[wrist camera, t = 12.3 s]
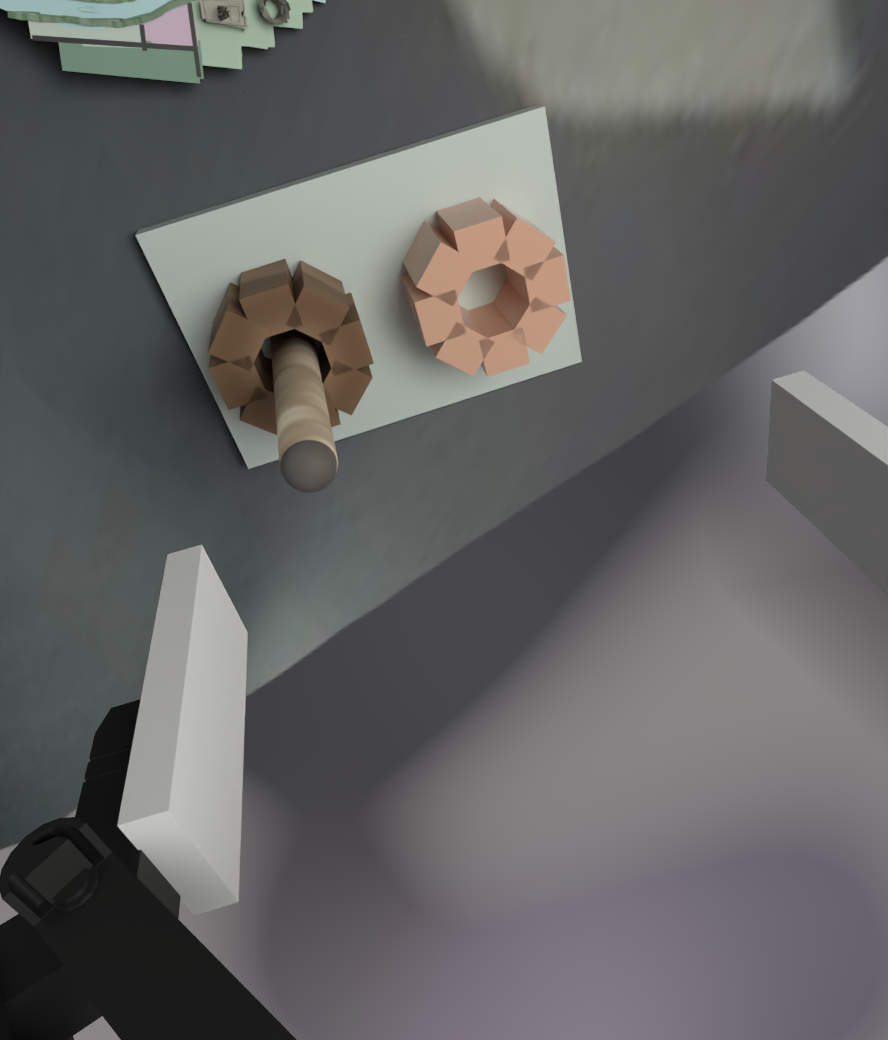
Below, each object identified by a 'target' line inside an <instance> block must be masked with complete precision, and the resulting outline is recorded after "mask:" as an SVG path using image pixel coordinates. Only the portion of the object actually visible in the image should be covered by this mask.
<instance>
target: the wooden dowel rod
mask: <svg viewBox="0 0 888 1040" xmlns="http://www.w3.org/2000/svg"><path fill="white" fill-rule="evenodd" d="M270 340H271V354H272V368H273V382H274V397H275V411H276V425H277V439H278V453H279V467H280V471H281V474H282V476H283V477H284V479H285V480H286V481H287V483H288V484H289V485H290V486H292V487H293V488H295V489H297V490H299V491H302V492H316V491H319V490H322V489H324V488H325V487H327V486H328V485H329V484H330V483H331V482H332V480H333V478H334V476H335V474H336V472H337V469H338V458H337V453H336V448H335V443H334V438H333V433H332V428H331V423H330V418H329V413H328V408H327V403H326V398H325V393H324V388H323V383H322V378H321V373H320V368H319V363H318V358H317V353H316V348H315V343H314V338H313V337H311V336H309V335H306V334H304V333H302V332H300V331H298V330H296V329H292V330H289V331H286V332H283V333H280V334H276V335H273V336H270Z"/></svg>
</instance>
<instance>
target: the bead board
mask: <svg viewBox="0 0 888 1040" xmlns="http://www.w3.org/2000/svg"><path fill="white" fill-rule="evenodd" d="M478 197H480V198H481V199H483V200H484V201H485V202H486V203H487V204H488V205H489V206H490V205H491V203H492V201H493V199H495V200H497V201H498V202H500V203H501V204H503V205H505V206H506V207H508V208H509V209H511V210H513V211H514V212H516V213H517V214H519V215H520V216H522V217H524V218H525V219H527V220H528V221H530V222H531V223H532V224H534V225H535V226H536V227H537V228H539V229H540V230H541V231H542V232H544V233H545V234H546V235H548V236H549V237H550V238H551V239H553V240H554V241H555V242H556V243H555V245H554V247H555V248H556V249H557V250H559V251H560V252H561V253H562V254H563V255H564V259H565V265H566V272H567V279H568V286H569V293H570V299H571V301H567V302H564V303H561V304H558V306H559V307H560V308H561V309H562V310H563V311H564V312H565V313H566V314H567V316H566V318H565V319H564V321H563V322H562V324H561V325H560V327H559V329H558V330H557V332H556V333H555V335H554V336H553V338H552V339H551V341H550V342H549V344H548V345H547V347H546V348H545V350H544V352H543V353H542V354H540V353H538V352H536V351H534V350H532V349H531V348H529V347H527V351H528V356H529V362H530V364H527V365H524V366H520V367H517V368H514V369H511V370H508V371H505V372H502V373H499V374H496V375H493V376H489V377H487V376H486V374H485V372H484V371H483V369H482V367H481V366H480V367H479V368H478V370H477V372H476V373H475V375H474V376H472V375H470V374H468V373H466V372H464V371H462V370H460V369H458V368H456V367H454V366H452V365H450V364H448V363H446V362H444V361H442V360H440V359H438V358H436V357H435V355H434V353H433V351H432V349H431V347H430V346H426V344H425V342H424V340H423V338H422V336H421V334H420V332H419V330H418V328H417V326H416V324H415V322H414V319H413V317H412V314H411V310H410V307H409V303H408V300H407V296H406V293H405V289H404V286H403V282H402V278H401V276H404V275H407V274H409V273H408V271H407V269H406V267H405V266H404V264H403V260H404V258H405V256H406V255H407V253H408V251H409V249H410V247H411V245H412V243H413V241H414V239H415V238H416V236H417V234H418V232H419V230H420V228H421V226H422V224H423V223H424V221H426V222H428V223H429V224H431V225H433V226H434V227H436V228H438V229H440V225H439V221H438V217H437V212H436V211H437V210H440V209H443V208H446V207H450V206H453V205H456V204H459V203H462V202H465V201H469V200H472V199H475V198H478ZM440 230H441V229H440ZM135 236H136V238H137V240H138V242H139V244H140V246H141V248H142V250H143V252H144V254H145V256H146V258H147V260H148V262H149V264H150V267H151V269H152V271H153V273H154V275H155V277H156V279H157V281H158V283H159V285H160V287H161V289H162V291H163V293H164V295H165V298H166V300H167V302H168V304H169V306H170V308H171V310H172V312H173V314H174V316H175V318H176V320H177V322H178V324H179V326H180V328H181V331H182V333H183V335H184V337H185V339H186V341H187V343H188V345H189V347H190V349H191V351H192V353H193V355H194V357H195V359H196V361H197V364H198V366H199V368H200V370H201V372H202V374H203V376H204V378H205V380H206V382H207V384H208V386H209V388H210V390H211V392H212V394H213V397H214V399H215V401H216V403H217V405H218V407H219V409H220V411H221V413H222V415H223V417H224V419H225V421H226V423H227V425H228V427H229V430H230V432H231V434H232V436H233V438H234V440H235V442H236V444H237V446H238V448H239V450H240V452H241V454H242V456H243V458H244V460H245V463H246V465H247V467H248V469H250V468H253V467H256V466H260V465H263V464H266V463H269V462H272V461H275V460H278V459H279V453H278V439H277V435H275V434H273V433H270V432H268V431H265V430H263V429H260V428H258V427H255V426H253V425H250V424H248V423H245V422H243V421H240V407H237V408H234V409H230V410H228V408H227V406H226V404H225V402H224V400H223V398H222V396H221V393H220V391H219V389H218V387H217V385H216V383H215V381H214V379H213V377H212V375H211V372H210V370H209V362H210V355H211V354H208V351H209V344H210V338H211V331H212V325H213V321H214V319H215V316H216V314H217V312H218V309H219V307H220V305H221V303H222V300H223V298H224V296H225V293H226V291H227V289H228V286H229V284H230V282H231V283H233V284H235V285H237V286H239V287H240V281H241V272H244V271H248V270H251V269H254V268H257V267H260V266H263V265H267V264H270V263H273V262H276V261H279V260H282V259H286V262H287V265H288V267H289V270H290V273H291V275H292V277H293V275H294V272H295V270H296V268H297V266H298V264H299V262H300V260H301V261H303V262H305V263H307V264H309V265H311V266H313V267H315V268H317V269H319V270H321V271H323V272H325V273H327V274H328V275H330V276H332V277H334V278H336V279H338V280H340V281H342V284H343V288H344V291H345V294H347V293H351V294H352V297H353V300H354V303H355V306H356V309H357V312H358V315H359V318H360V321H361V324H362V327H363V330H364V333H365V336H366V340H367V343H368V346H369V349H370V352H371V355H372V359H373V362H374V364H371V365H369V367H370V370H371V374H372V377H373V378H372V380H371V381H370V383H369V385H368V387H367V389H366V391H365V392H364V394H363V396H362V398H361V400H360V401H359V403H358V405H357V407H356V409H355V410H354V412H353V414H352V415H349V414H347V413H345V412H342V411H340V410H338V413H339V418H340V425H337V426H334V427H331V428H332V433H333V438H334V441H337V440H340V439H343V438H346V437H350V436H353V435H356V434H359V433H362V432H365V431H368V430H371V429H374V428H378V427H381V426H384V425H387V424H390V423H393V422H396V421H399V420H402V419H405V418H409V417H412V416H415V415H418V414H421V413H424V412H427V411H430V410H433V409H436V408H440V407H443V406H446V405H449V404H452V403H455V402H458V401H461V400H464V399H468V398H471V397H474V396H477V395H480V394H483V393H486V392H489V391H492V390H495V389H499V388H502V387H505V386H508V385H511V384H514V383H517V382H520V381H523V380H527V379H530V378H533V377H536V376H539V375H542V374H545V373H548V372H551V371H554V370H558V369H561V368H564V367H567V366H570V365H573V364H576V363H579V362H582V359H581V353H580V346H579V339H578V332H577V325H576V318H575V311H574V304H573V297H572V291H571V284H570V277H569V270H568V263H567V256H566V249H565V242H564V235H563V229H562V222H561V215H560V208H559V201H558V194H557V187H556V180H555V173H554V166H553V160H552V153H551V146H550V139H549V132H548V125H547V118H546V111H545V106H543V105H540V104H537V105H534V106H531V107H527V108H524V109H521V110H518V111H515V112H512V113H508V114H505V115H502V116H499V117H496V118H492V119H489V120H486V121H483V122H480V123H477V124H473V125H470V126H467V127H464V128H461V129H458V130H454V131H451V132H448V133H445V134H442V135H438V136H435V137H432V138H429V139H426V140H423V141H419V142H416V143H413V144H410V145H407V146H404V147H400V148H397V149H394V150H391V151H388V152H384V153H381V154H378V155H375V156H372V157H369V158H365V159H362V160H359V161H356V162H353V163H350V164H346V165H343V166H340V167H337V168H334V169H330V170H327V171H324V172H321V173H318V174H315V175H311V176H308V177H305V178H302V179H299V180H295V181H292V182H289V183H286V184H283V185H280V186H276V187H273V188H270V189H267V190H264V191H261V192H257V193H254V194H251V195H248V196H245V197H241V198H238V199H235V200H232V201H229V202H226V203H222V204H219V205H216V206H213V207H210V208H207V209H203V210H200V211H197V212H194V213H191V214H187V215H184V216H181V217H178V218H175V219H172V220H168V221H165V222H162V223H159V224H156V225H153V226H149V227H146V228H143V229H140V230H138V231H137V233H136V235H135ZM506 280H507V277H506V272H505V267H504V264H502V263H499V264H496V265H493V266H490V267H487V268H483V269H480V270H477V271H474V272H472V274H471V276H470V278H469V279H468V281H467V283H466V284H465V286H464V288H463V290H462V291H461V293H460V295H459V297H458V298H457V299H458V303H459V305H460V306H462V307H464V308H465V309H467V310H470V309H473V308H477V307H480V306H483V305H486V304H489V303H492V302H493V301H494V300H495V298H496V296H497V295H498V293H499V291H500V290H501V288H502V286H503V285H504V283H505V281H506ZM314 343H315V348H316V353H318V351H319V349H320V347H321V345H322V342H321V341H319V340H317V339H315V338H314ZM261 349H262V351H263V354H264V356H265V357H267V358H269V359H271V360H272V354H271V340H270V337H267V338H265V340H264V342H263V344H262V347H261Z"/></svg>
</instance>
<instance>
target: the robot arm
mask: <svg viewBox="0 0 888 1040" xmlns="http://www.w3.org/2000/svg"><path fill="white" fill-rule="evenodd" d="M768 440H769V441H768V457H767V475H766V481H767V482H768V483H769V484H771V485H772V486H773V487H774V488H775V489H776V490H777V491H778V492H779V493H780V494H781V495H782V496H783V497H784V498H786V500H787V501H789V502H790V503H791V504H792V505H793V506H794V507H795V508H796V509H797V510H798V511H799V512H800V513H801V514H802V515H804V517H805V518H806V519H808V520H809V521H810V522H811V523H812V524H813V525H814V526H815V527H816V528H817V529H818V530H819V531H820V532H821V533H822V534H823V535H824V536H825V537H827V538H828V539H829V540H830V541H831V542H832V543H833V544H834V545H835V546H836V547H837V548H838V549H839V550H840V551H841V552H842V553H843V554H844V555H845V556H846V557H848V558H849V559H850V560H851V561H852V562H853V563H854V564H855V565H856V566H857V567H858V568H859V569H860V570H861V571H862V572H863V573H864V574H865V575H867V576H868V577H869V578H870V579H871V580H872V581H873V582H874V583H875V584H876V585H877V586H878V587H879V588H880V589H881V590H882V591H884V592H885V593H886V594H887V595H888V427H887V426H885V425H884V424H882V423H881V422H879V421H878V420H876V419H875V418H874V417H872V416H871V415H869V414H868V413H866V412H865V411H863V410H862V409H860V408H859V407H857V406H856V405H854V404H853V403H851V402H850V401H849V400H847V399H846V398H844V397H843V396H841V395H840V394H838V393H837V392H835V391H833V390H832V389H831V388H829V387H828V386H826V385H825V384H823V383H822V382H820V381H819V380H817V379H816V378H814V377H813V376H812V375H810V374H808V373H807V372H806V371H801V372H797V373H794V374H791V375H787V376H784V377H780V378H777V379H773V380H772V387H771V404H770V421H769V439H768ZM247 637H248V632H247V630H246V629H245V627H244V625H243V623H242V621H241V619H240V617H239V615H238V613H237V611H236V609H235V607H234V605H233V604H232V602H231V600H230V598H229V596H228V594H227V592H226V590H225V588H224V586H223V584H222V582H221V581H220V579H219V577H218V575H217V573H216V571H215V569H214V567H213V565H212V563H211V561H210V559H209V557H208V556H207V554H206V552H205V550H204V548H203V546H202V545H199V546H195V547H192V548H188V549H185V550H181V551H178V552H174V553H171V554H168V555H167V560H166V566H165V571H164V576H163V582H162V587H161V592H160V598H159V603H158V609H157V614H156V619H155V625H154V630H153V636H152V641H151V646H150V652H149V657H148V663H147V668H146V673H145V679H144V684H143V689H142V695H141V699H140V700H137V701H133V702H130V703H127V704H123V705H120V706H116V707H113V708H111V709H110V711H109V712H108V714H107V715H106V717H105V719H104V720H103V722H102V723H101V725H100V726H99V728H98V730H97V731H96V733H95V736H94V740H93V745H92V749H91V753H90V757H89V758H90V762H88V765H87V770H86V774H85V780H86V781H85V782H84V783H83V786H82V791H81V795H80V799H79V803H78V807H77V811H76V816H75V817H72V818H58V819H56V820H53V821H51V822H48V823H46V824H43V825H41V826H40V827H39V828H37V829H36V830H34V831H33V832H32V833H30V834H29V835H27V836H26V837H25V838H24V839H23V840H22V841H21V842H20V843H19V844H18V845H17V847H16V848H15V849H14V850H13V851H12V852H11V854H10V855H9V857H8V859H7V861H6V862H5V864H4V866H3V868H2V870H1V875H0V893H1V897H2V899H3V900H4V901H5V902H6V903H8V904H9V905H10V906H11V907H12V908H13V909H14V910H15V911H17V912H18V913H19V914H18V915H16V916H14V917H13V918H11V919H10V920H8V921H6V922H5V923H3V924H1V925H0V1040H74V1038H73V1035H75V1034H76V1033H77V1032H79V1031H80V1030H82V1029H83V1028H85V1027H86V1026H88V1025H89V1024H91V1023H92V1022H94V1021H95V1020H97V1019H98V1018H100V1017H101V1016H103V1017H104V1018H105V1020H106V1021H107V1022H108V1024H109V1025H110V1026H111V1027H112V1029H113V1030H114V1031H115V1033H116V1034H117V1035H118V1037H119V1038H120V1039H121V1040H296V1039H295V1038H294V1037H293V1036H292V1035H291V1034H290V1033H289V1032H288V1031H287V1029H286V1028H285V1027H284V1026H282V1024H281V1023H280V1022H279V1021H278V1020H277V1019H276V1018H275V1017H274V1016H273V1015H272V1014H271V1013H270V1012H269V1011H268V1010H267V1009H266V1008H265V1007H264V1006H263V1005H262V1004H261V1003H260V1002H259V1001H258V1000H257V999H256V998H255V997H254V996H253V995H252V994H251V993H250V992H249V991H248V990H247V989H246V988H245V987H244V986H243V985H242V984H241V983H240V982H239V981H238V980H237V979H236V978H235V977H234V976H233V975H232V974H231V973H230V972H229V971H228V970H227V968H225V967H224V965H223V964H222V963H221V962H220V961H218V959H217V958H216V957H215V956H214V955H213V954H212V953H211V952H210V951H209V950H208V949H207V948H206V947H205V946H204V945H203V944H202V943H201V942H200V941H199V940H198V939H197V938H196V937H195V936H194V935H193V934H192V933H191V932H190V931H189V930H188V929H187V928H186V927H185V926H184V925H183V924H182V923H181V922H180V921H179V920H178V917H179V916H178V915H179V906H180V900H181V901H182V902H183V903H184V905H185V906H186V907H187V908H188V909H189V910H190V911H191V913H192V914H193V915H198V914H201V913H204V912H207V911H211V910H214V909H217V908H220V907H224V906H227V905H230V904H233V903H237V902H238V901H239V872H240V841H241V814H242V784H243V754H244V725H245V696H246V666H247Z"/></svg>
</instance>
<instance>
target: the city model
mask: <svg viewBox="0 0 888 1040" xmlns="http://www.w3.org/2000/svg"><path fill="white" fill-rule="evenodd" d="M314 1H318V2H322V3H326V0H314ZM0 8H1V9H3V10H4V11H7V12H8V18H13V19H18V20H28V24H29V30H30V36H31V39H33V41H46V42H58V43H59V50H60V57H61V64H62V71H71V72H82V73H93V74H103V75H114V76H124V77H135V78H146V79H156V80H167V81H178V82H188V83H199V84H200V79H204V75H203V65H204V66H214V67H224V68H234V69H242V52H241V46H249V47H256V48H262V49H268V47H275V41H274V29H273V26H277V27H288V28H299V29H303V18H302V12H313V5H312V0H0ZM242 92H243V91H242Z"/></svg>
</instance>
